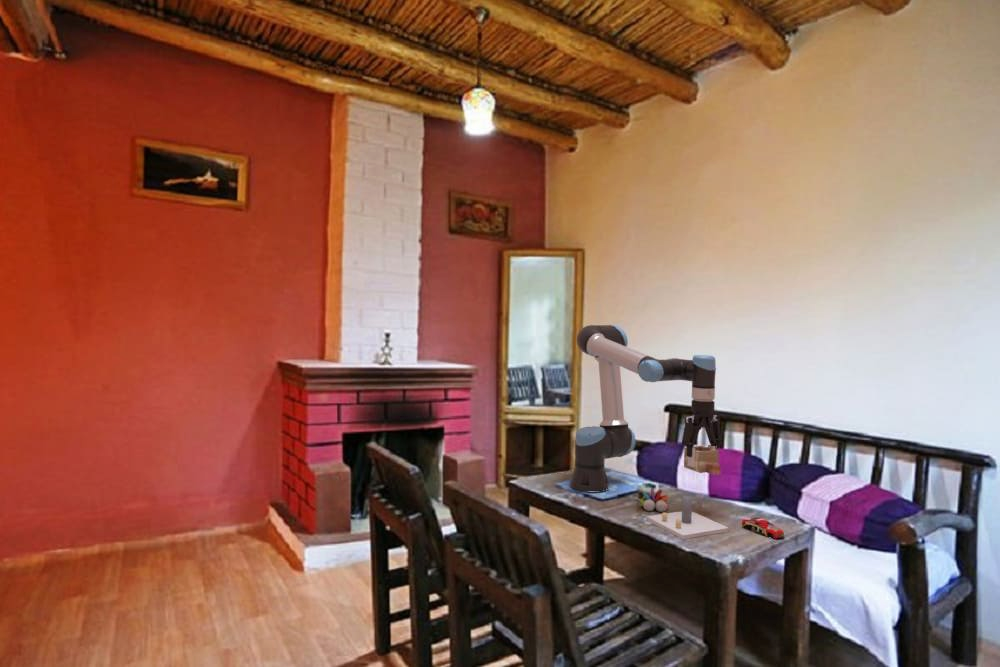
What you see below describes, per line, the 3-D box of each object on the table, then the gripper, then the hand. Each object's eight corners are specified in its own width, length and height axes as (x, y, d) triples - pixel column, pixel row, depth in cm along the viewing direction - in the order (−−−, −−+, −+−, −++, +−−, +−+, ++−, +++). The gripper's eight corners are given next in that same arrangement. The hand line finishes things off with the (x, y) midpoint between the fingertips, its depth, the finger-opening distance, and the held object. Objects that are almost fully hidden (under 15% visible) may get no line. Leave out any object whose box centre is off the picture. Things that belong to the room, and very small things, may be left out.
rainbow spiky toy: (669, 514, 195) (670, 493, 194) (640, 511, 197) (641, 491, 196) (667, 506, 203) (668, 486, 203) (639, 504, 205) (640, 484, 205)
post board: (646, 519, 188) (646, 492, 188) (689, 513, 195) (689, 487, 195) (683, 539, 171) (683, 509, 171) (728, 531, 178) (729, 502, 178)
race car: (787, 539, 174) (788, 526, 174) (776, 542, 171) (776, 529, 171) (750, 525, 185) (750, 512, 185) (739, 527, 183) (739, 515, 183)
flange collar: (683, 467, 199) (684, 447, 199) (701, 465, 202) (702, 445, 202) (707, 475, 188) (708, 454, 188) (726, 473, 192) (726, 452, 191)
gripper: (686, 402, 189) (684, 470, 189) (734, 400, 197) (732, 465, 197) (671, 399, 196) (669, 464, 196) (718, 397, 204) (716, 460, 204)
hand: (701, 465), depth 197 cm, fingers closed on flange collar, 8 cm apart
